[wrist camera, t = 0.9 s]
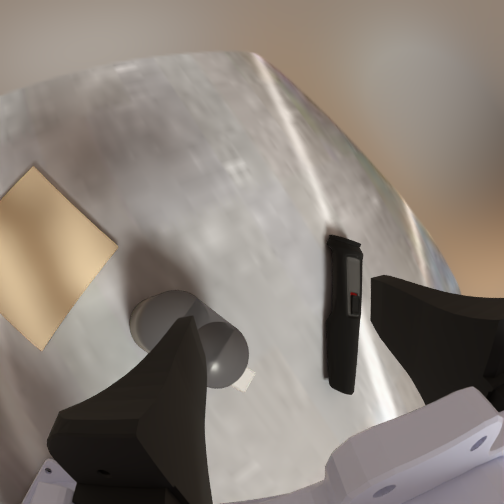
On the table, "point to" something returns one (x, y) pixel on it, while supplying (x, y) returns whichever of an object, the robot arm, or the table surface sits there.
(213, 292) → the table surface
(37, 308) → the pad
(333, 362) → the electric trimmer
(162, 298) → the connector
